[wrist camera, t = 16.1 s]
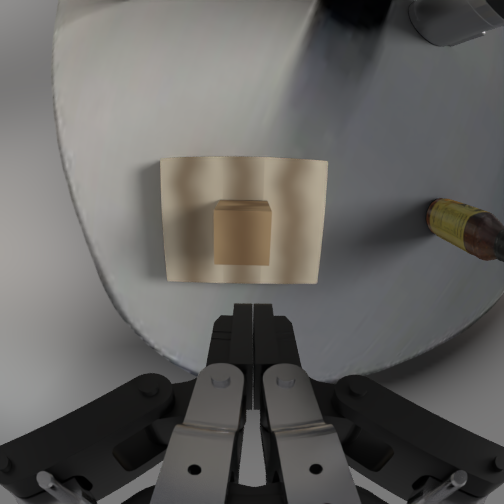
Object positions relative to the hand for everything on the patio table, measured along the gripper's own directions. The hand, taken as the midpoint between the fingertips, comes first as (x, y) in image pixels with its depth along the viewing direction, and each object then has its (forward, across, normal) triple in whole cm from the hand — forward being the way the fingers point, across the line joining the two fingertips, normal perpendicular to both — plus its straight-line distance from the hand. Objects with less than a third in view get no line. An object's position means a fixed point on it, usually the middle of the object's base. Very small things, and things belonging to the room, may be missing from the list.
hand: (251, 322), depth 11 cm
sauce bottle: (+27, -30, 0) cm, 41 cm away
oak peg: (+26, +1, +2) cm, 26 cm away
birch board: (+27, +1, +2) cm, 27 cm away
